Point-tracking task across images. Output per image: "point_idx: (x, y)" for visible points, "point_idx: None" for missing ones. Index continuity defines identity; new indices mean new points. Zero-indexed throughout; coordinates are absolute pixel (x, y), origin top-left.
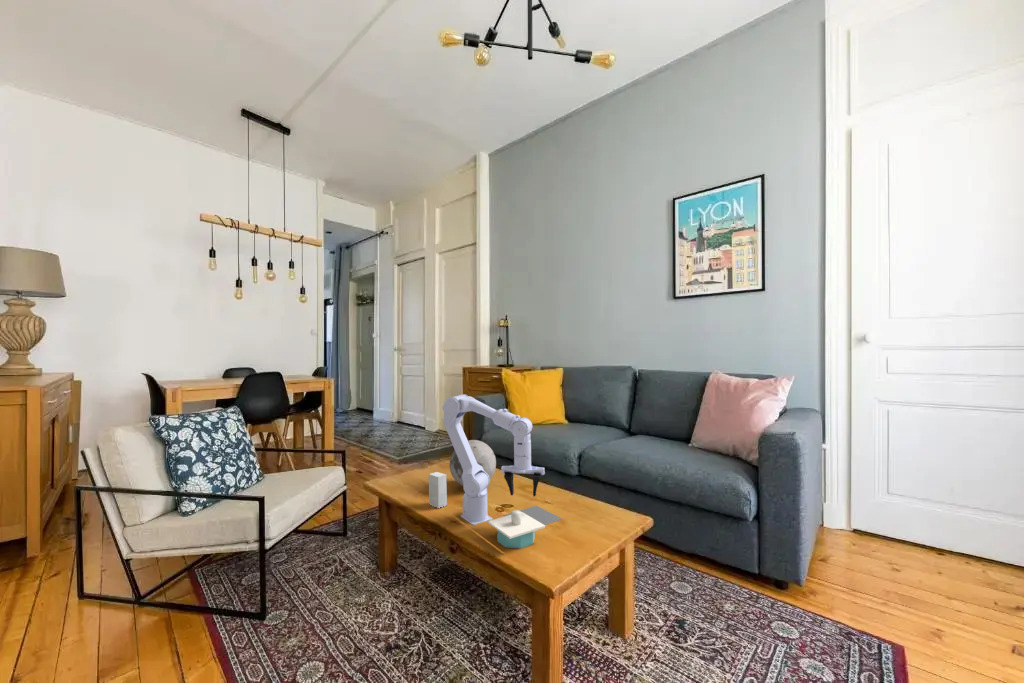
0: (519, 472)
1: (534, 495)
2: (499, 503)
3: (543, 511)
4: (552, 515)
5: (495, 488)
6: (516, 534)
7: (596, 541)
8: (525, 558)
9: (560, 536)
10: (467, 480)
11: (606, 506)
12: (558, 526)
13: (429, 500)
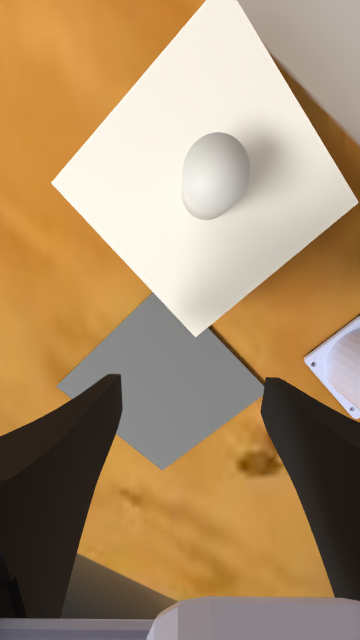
0: (355, 633)
1: (108, 375)
2: (285, 476)
3: (131, 432)
4: None
5: (305, 565)
6: (188, 27)
7: None
8: (141, 33)
9: (41, 259)
10: None
11: None
12: (64, 336)
13: None
